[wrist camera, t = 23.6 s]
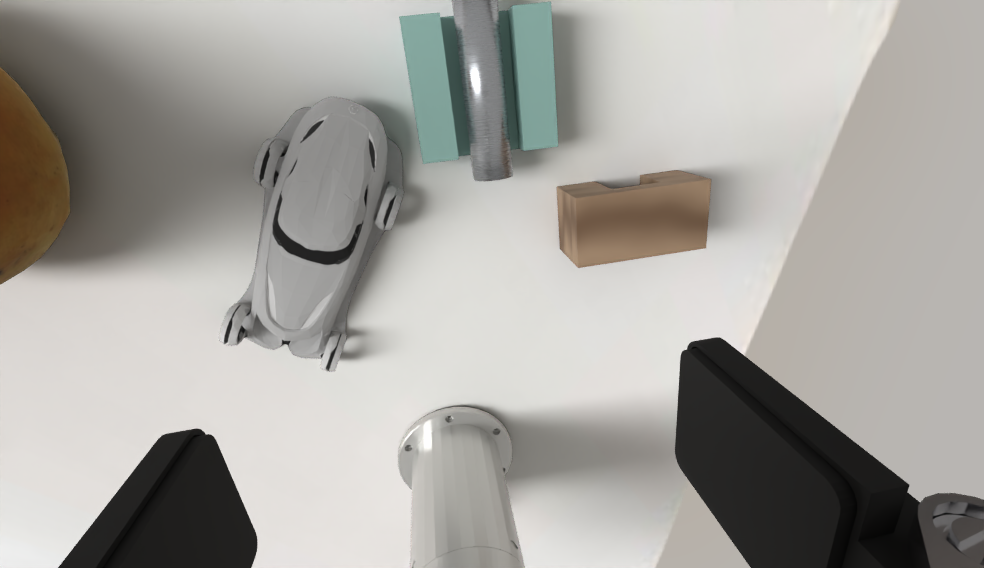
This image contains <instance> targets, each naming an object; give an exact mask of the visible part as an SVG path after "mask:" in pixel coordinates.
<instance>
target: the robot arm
mask: <svg viewBox="0 0 984 568" xmlns="http://www.w3.org/2000/svg"><path fill="white" fill-rule="evenodd" d="M675 455H676V459H677V462H678V464H679V467H680V468H681V470H682V471H683V473H684V474H685V476H686V477H687V478H688V480H689V481H690V483H691V484H692V486H693V487H694V488H695V490H696V491H697V493H698V494H699V495H700V497H701V498H702V499H703V501H704V502H705V504H706V505H707V507H708V508H709V509H710V511H711V512H712V514H713V515H714V516H715V518H716V519H717V521H718V522H719V523H720V525H721V526H722V528H723V529H724V531H725V532H726V533H727V535H728V536H729V537H730V539H731V540H732V542H733V543H734V545H735V546H736V547H737V549H738V550H739V552H740V553H741V554H742V556H743V557H744V559H745V560H746V562H747V563H748V564H749V566H750V567H751V568H984V500H983V499H980V498H976V497H972V496H967V495H961V494H956V493H938V494H934V495H931V496H928V497H925V498H924V499H923V500H922V501H921V503H920V502H919V501H917V500H916V499H915V498H913V497H912V496H911V495H910V494H909V493H907V491H908V488H909V484H907V483H906V482H905V481H904V480H902V479H901V478H900V477H899V476H897V475H896V474H895V473H893V472H892V471H891V470H889V469H888V468H887V467H886V466H884V465H883V464H882V463H881V462H879V461H878V460H877V459H876V458H874V457H873V456H872V455H870V454H869V453H868V452H867V451H865V450H864V449H863V448H861V447H860V446H859V445H857V444H856V443H855V442H853V441H852V440H851V439H850V438H849V437H847V436H846V435H845V434H843V433H842V432H841V431H840V430H838V429H837V428H836V427H835V426H833V425H832V424H831V423H830V422H828V421H827V420H826V419H824V418H823V417H822V416H821V415H819V414H818V413H816V412H815V411H814V410H813V409H812V408H810V407H809V406H808V405H807V404H805V403H804V402H803V401H801V400H800V399H799V398H798V397H796V396H795V395H794V394H792V393H791V392H790V391H788V390H787V389H786V388H785V387H784V386H782V385H781V384H780V383H778V382H777V381H776V380H775V379H773V378H772V377H771V376H769V375H768V374H767V373H765V372H764V371H763V370H762V369H760V368H759V367H758V366H757V365H755V364H754V363H753V362H752V361H750V360H749V359H748V358H746V357H745V356H744V355H743V354H741V353H740V352H739V351H737V350H736V349H735V348H734V347H732V346H731V345H730V344H729V343H727V342H726V341H725V340H723V339H721V338H711V339H705V340H699V341H693V342H691V343H690V344H689V345H688V348H687V350H684V351H683V352H682V354H681V360H680V376H679V393H678V410H677V426H676V443H675ZM511 461H512V444H511V439H510V437H509V434H508V431H507V430H506V428H505V427H504V425H503V424H502V423H501V422H500V421H499V420H498V419H497V418H496V417H494V416H492V415H491V414H489V413H487V412H485V411H482V410H479V409H475V408H470V407H451V408H445V409H441V410H438V411H435V412H432V413H430V414H428V415H426V416H424V417H423V418H421V419H420V420H419V421H417V422H416V423H415V424H414V425H413V426H412V427H411V428H410V429H409V430H408V431H407V433H406V434H405V436H404V437H403V439H402V442H401V444H400V447H399V454H398V467H399V471H400V475H401V477H402V479H403V480H404V482H405V483H406V484H407V486H408V487H409V488H410V489H411V490H412V507H411V552H410V568H525V565H524V561H523V556H522V552H521V547H520V543H519V538H518V534H517V530H516V525H515V521H514V516H513V512H512V507H511V503H510V498H509V494H508V490H507V485H506V481H505V475H506V473H507V471H508V469H509V467H510V465H511ZM256 552H257V536H256V532H255V530H254V528H253V525H252V523H251V521H250V518H249V516H248V514H247V511H246V509H245V507H244V504H243V502H242V500H241V497H240V495H239V493H238V491H237V488H236V486H235V484H234V481H233V479H232V477H231V474H230V472H229V470H228V467H227V465H226V463H225V460H224V458H223V456H222V453H221V451H220V449H219V446H218V444H217V442H216V440H215V438H214V437H213V436H212V435H209V434H208V435H206V434H205V433H204V432H203V431H202V430H201V429H191V430H186V431H180V432H174V433H169V434H165V435H162V436H161V437H160V438H159V439H158V440H157V442H156V443H155V444H154V445H153V447H152V448H151V449H150V451H149V452H148V453H147V454H146V456H145V457H144V458H143V460H142V461H141V462H140V463H139V465H138V466H137V467H136V468H135V470H134V471H133V472H132V474H131V475H130V476H129V477H128V479H127V480H126V481H125V483H124V484H123V485H122V486H121V488H120V489H119V490H118V492H117V493H116V494H115V495H114V497H113V498H112V499H111V501H110V502H109V503H108V504H107V506H106V507H105V508H104V510H103V511H102V512H101V513H100V515H99V516H98V517H97V519H96V520H95V521H94V522H93V524H92V525H91V526H90V528H89V529H88V530H87V531H86V533H85V534H84V535H83V537H82V538H81V539H80V540H79V542H78V543H77V544H76V546H75V547H74V548H73V549H72V551H71V552H70V553H69V555H68V556H67V557H66V558H65V560H64V561H63V562H62V564H61V565H60V566H59V567H58V568H251V567H252V564H253V561H254V559H255V556H256Z"/></svg>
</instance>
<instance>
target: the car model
mask: <svg viewBox="0 0 984 568" xmlns="http://www.w3.org/2000/svg"><path fill="white" fill-rule="evenodd" d="M402 164H403V161H402V154H401V152H400V149H399V147H398V146H397V145H396V144H395V143H394V142H393V141H392V140H390V139H389V138H388V137H386V133H385V130H384V127H383V124H382V123H381V121H380V119H379V118H378V116H377V115H376V114H375V113H373V112H372V111H370V110H369V109H367V108H366V107H364V106H362V105H360V104H358V103H355V102H353V101H350V100H347V99H343V98H338V97H329V98H326V99H323V100H321V101H319V102H318V103H316V104H315V105H314V106H313V107H312V108H310V107H307V108H301V109H299V110H297V111H296V112H295V113H294V114H293V115H292V116H291V117H290V118H289V120H288V121H287V123H286V124H285V125H284V127H283V128H282V129H281V130H280V132H279V133H278V134H277V135H276V137H274V138H273V139H267V140H266V141H265V142H264V143H263V144H262V146H261V148H260V150H259V152H258V155H257V157H256V161H255V165H254V170H253V178H254V180H255V181H256V182H257V183H258V184H259V185H260V186H262V187H265V197H264V210H263V219H262V225H261V232H260V238H259V245H258V251H257V258H256V265H255V270H254V274H253V277H252V280H251V283H250V285H249V287H248V289H247V291H246V292H245V294H244V295H243V297H242V298H241V299H240V300H239V301H238V302H237V303H236V304H234V305H233V306H232V307H231V308H229V310H228V312H227V314H226V315H225V318H224V320H223V322H222V325H221V328H220V332H219V337H218V338H219V341H220V342H222V343H223V344H226V345H231V346H232V345H238V344H239V343H240V342H241V341H242V340H243V338H246V339H248V340H250V341H252V342H254V343H256V344H258V345H260V346H262V347H264V348H268V349H273V350H275V349H276V348H278V347H280V346H281V345H283V344H287V345H288V347H289V349H290V351H291V353H292V354H293V355H295V356H298V357H301V358H318V359H322V360H321V364H320V368H321V369H323V370H325V371H329V372H332V371H335V369H336V367H337V364H338V361H339V358H340V355H341V352H342V349H343V347H344V344H345V341H346V337H347V336H346V316H347V310H348V307H349V304H350V300H351V297H352V295H353V293H354V291H355V288H356V286H357V284H358V281H359V279H360V277H361V275H362V273H363V271H364V268H365V266H366V264H367V262H368V260H369V258H370V255H371V253H372V251H373V250H374V248H375V246H376V245H377V243H378V241H379V239H380V238H381V236H382V234H383V233H384V232H385V230H391V229H392V226H393V224H394V221H395V218H396V216H397V213H398V210H399V207H400V204H401V201H402V198H403V195H404V190H403V187H402ZM388 182H389V184H388ZM387 186H388V187H387ZM397 191H398V192H397ZM297 256H298V257H297ZM339 260H340V261H339Z"/></svg>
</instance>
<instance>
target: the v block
mask: <svg viewBox="0 0 984 568" xmlns="http://www.w3.org/2000/svg"><path fill="white" fill-rule="evenodd" d="M399 18H400V24H401V30H402V37H403V43H404V49H405V55H406V61H407V68H408V74H409V80H410V86H411V92H412V98H413V105H414V111H415V117H416V123H417V129H418V136H419V142H420V148H421V154H422V160H423V164H426V163H434V162H441V161H449V160H457V159H459V157H458V156H464V155H471V153H470V145H469V137H468V129H467V120H466V112H465V104H464V96H463V88H462V79H461V71H460V63H459V55H458V47H457V38H456V30H455V22H454V16H449V17H440V13H431V14H421V15H410V16H400V17H399ZM499 23H500V35H501V46H502V57H503V68H504V80H505V91H506V102H507V113H508V125H509V136H510V147H511V149H521V150H523V151H527V150H534V149H542V148H550V147H558V133H557V113H556V93H555V73H554V53H553V33H552V12H551V2H543V3H532V4H522V5H513V6H512V7H511V8H510V9H509V10H508V11H499Z"/></svg>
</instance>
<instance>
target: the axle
mask: <svg viewBox="0 0 984 568" xmlns="http://www.w3.org/2000/svg"><path fill="white" fill-rule="evenodd" d="M452 6H453V14H454V22H455V30H456V38H457V47H458V55H459V63H460V71H461V79H462V88H463V96H464V104H465V112H466V120H467V129H468V137H469V145H470V153H471V161H472V170H473V178H474V180H476V181H493V180H500V179H505V178H509V177H511V176H513V170H512V159H511V147H510V136H509V125H508V113H507V102H506V91H505V80H504V68H503V57H502V46H501V35H500V23H499V12H498V1H497V0H452Z"/></svg>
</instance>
